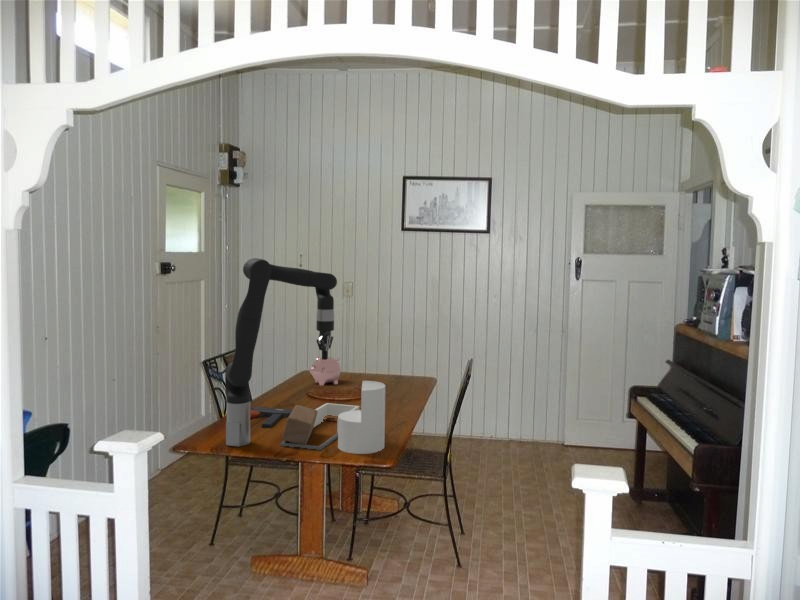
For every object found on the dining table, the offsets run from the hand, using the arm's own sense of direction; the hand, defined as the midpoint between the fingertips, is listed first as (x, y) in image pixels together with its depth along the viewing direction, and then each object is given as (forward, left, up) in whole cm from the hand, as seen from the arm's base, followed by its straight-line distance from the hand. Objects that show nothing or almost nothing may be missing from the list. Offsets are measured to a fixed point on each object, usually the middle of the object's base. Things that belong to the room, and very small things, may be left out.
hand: (324, 359), depth 281 cm
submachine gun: (+7, +29, -32) cm, 44 cm away
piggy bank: (+89, +38, -32) cm, 102 cm away
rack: (+7, -1, -31) cm, 32 cm away
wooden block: (-6, +7, -25) cm, 26 cm away
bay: (-15, -1, -31) cm, 35 cm away
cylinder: (-16, -23, -32) cm, 42 cm away
